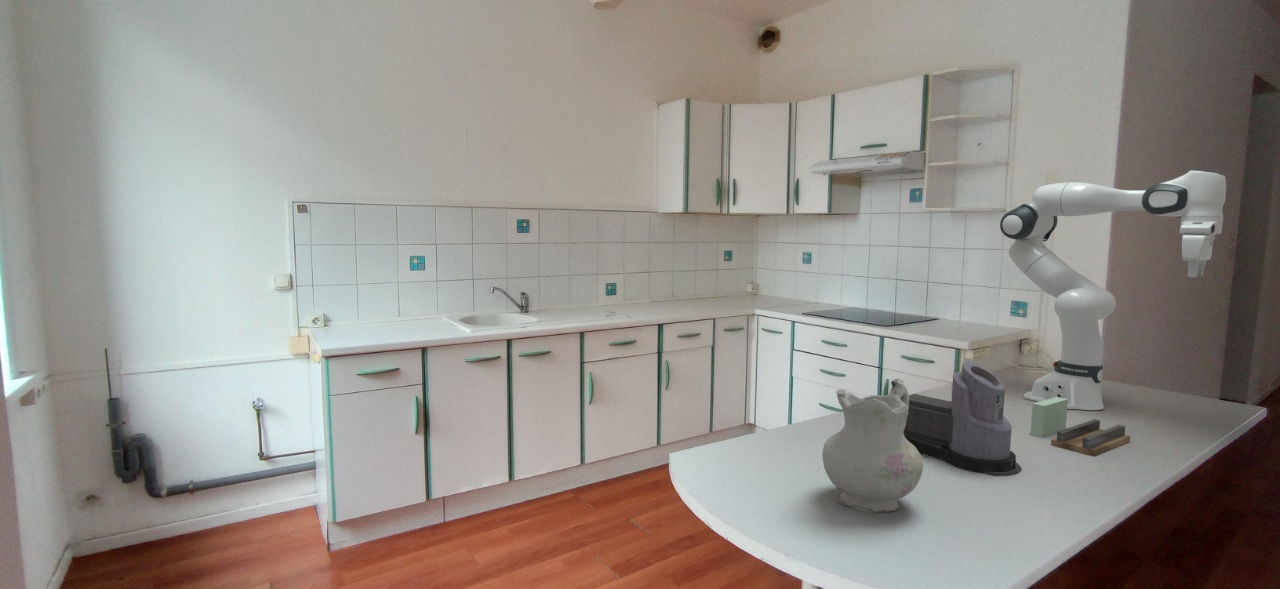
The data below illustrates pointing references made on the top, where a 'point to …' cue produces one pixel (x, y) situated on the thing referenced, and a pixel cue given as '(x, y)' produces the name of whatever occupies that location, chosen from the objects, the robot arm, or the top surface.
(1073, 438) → the bottom track
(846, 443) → the ceramic pitcher
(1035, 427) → the door panel
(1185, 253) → the robot arm
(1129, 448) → the top surface
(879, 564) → the top surface
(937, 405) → the juicer
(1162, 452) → the top surface
